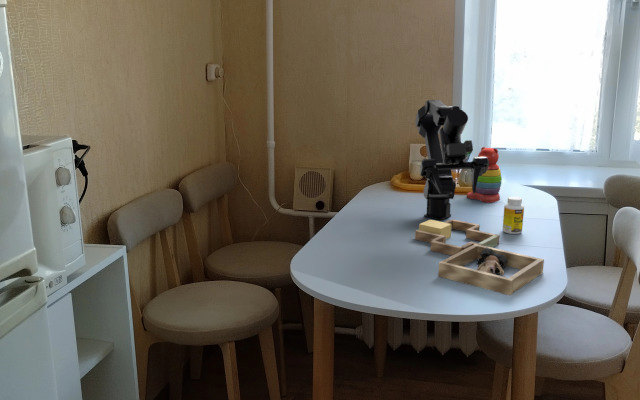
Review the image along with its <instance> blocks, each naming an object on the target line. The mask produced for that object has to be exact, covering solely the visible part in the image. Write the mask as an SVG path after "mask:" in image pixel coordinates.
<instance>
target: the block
mask: <svg viewBox="0 0 640 400" xmlns="http://www.w3.org/2000/svg"><path fill="white" fill-rule="evenodd" d="M444 222H445V221H444ZM444 222H443V221H439V220H436V219H428V220H426V221H423V222H421V223H419V225H418V230H421V231H425V232H430V233H434V234H439V235H443V236H446V240H447V239H449V238H451V236H452V229H451V224H449V223H444Z"/></svg>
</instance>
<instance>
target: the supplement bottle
mask: <svg viewBox="0 0 640 400" xmlns="http://www.w3.org/2000/svg"><path fill="white" fill-rule="evenodd" d="M522 203H523V198H522V197H519V196H509V197H507V200H506V203H505V204H504V206H503V217H502V218H503V219H502V231H503V232H504V233H506V234H509V235H518V234H521V233H522V232H523V227H524V224H523V223H524V214H525V206H524V204H522Z"/></svg>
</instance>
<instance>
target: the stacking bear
mask: <svg viewBox="0 0 640 400" xmlns="http://www.w3.org/2000/svg"><path fill="white" fill-rule="evenodd" d="M498 152H499V151H498V149H497V148H493V147H485V146H483V147H481V148H480V151H479V153H478V155H477V157H487V158H488V159H489V166H488V169H487V171H486V173H484V174H482V176H479V177H478V180H477V185H476V190H475V193H473V191H472V190H471V191H470V192H467V194H466V198H467V199H470V200H478V201H481V202H482V203H485V204H490V203H491V204H492V203H496V202H498V201H499V200H500V199H501V196H500V190H501V186H502V180H503V179H502V178H503V177H502V172H501V168H500V166H499V165H498V164H497V163H498V161H499V153H498Z"/></svg>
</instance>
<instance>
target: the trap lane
mask: <svg viewBox="0 0 640 400" xmlns="http://www.w3.org/2000/svg"><path fill="white" fill-rule="evenodd" d="M444 223H449V224H451V230H452V229H454V230H457V231H463V232H465V233H466V234H465V239H469V240H474V241H469V242H466V243H465V244H463V245H459V246H458V245H455V244H450V243H446V242H447V241H446V240H447V239H446V236H443V235H439V234H434V233H430V232H425V231H421V230H419V229H416V230H415V232H414V239H415V240H418V241H421V242H426V243H429V244H430V252H431V251H432V252H435V253H440V254H444V255H448V256H453V255H455V254H457V253H459V252H461V251H462V250H464V249H466V248H468V247H470V246H472V245H474V244H478V245H482V246H487V247H491V248H495V247H496V246H497V245H500V234H495V233H490V232H488V231H487V232H486V231H481V230H480V228H481V227H480V226H481V225H480V224H478V223H473V222H468V221H465V220H464V221H463V220H458V219H448V220H445V221H444ZM475 241H477V242H475Z"/></svg>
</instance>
